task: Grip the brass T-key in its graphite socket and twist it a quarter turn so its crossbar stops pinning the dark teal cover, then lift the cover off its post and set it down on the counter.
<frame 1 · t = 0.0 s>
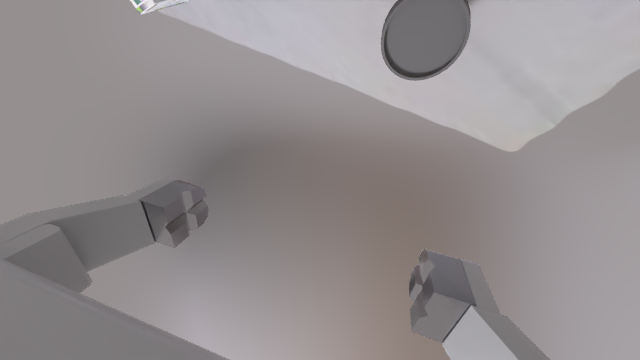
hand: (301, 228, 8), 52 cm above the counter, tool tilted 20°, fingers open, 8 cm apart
reusable coffee cup: (423, 15, 43), on the counter
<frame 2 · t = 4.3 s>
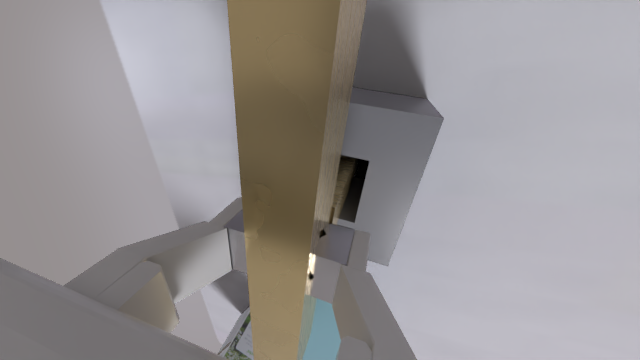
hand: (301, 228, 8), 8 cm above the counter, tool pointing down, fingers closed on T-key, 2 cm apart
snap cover: (312, 298, 17), point 4 cm above the counter, touching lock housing
T-key: (345, 151, 15), resting in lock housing, touching gripper
syrup box: (267, 317, 28), on the counter
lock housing: (334, 210, 18), on the counter
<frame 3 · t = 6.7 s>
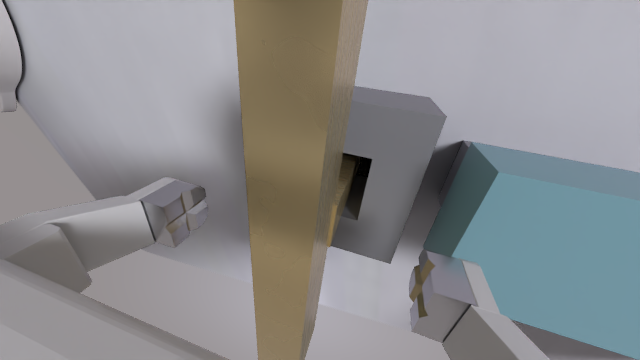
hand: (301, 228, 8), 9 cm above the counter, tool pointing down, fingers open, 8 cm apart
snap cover: (565, 229, 10), point 4 cm above the counter, touching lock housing
T-key: (347, 150, 15), resting in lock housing
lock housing: (424, 165, 14), on the counter
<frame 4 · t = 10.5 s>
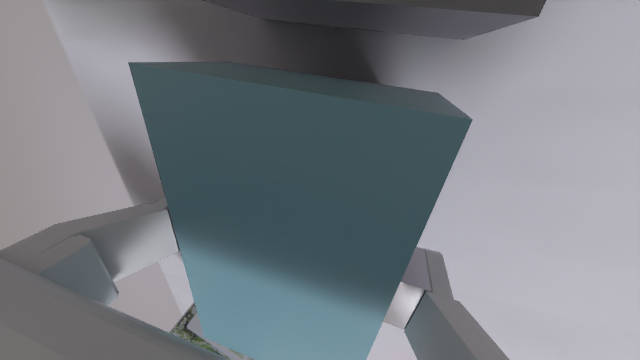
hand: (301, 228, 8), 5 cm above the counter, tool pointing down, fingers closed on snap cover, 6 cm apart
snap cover: (308, 217, 9), point 4 cm above the counter, touching gripper, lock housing
syrup box: (247, 290, 20), on the counter
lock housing: (349, 57, 9), on the counter
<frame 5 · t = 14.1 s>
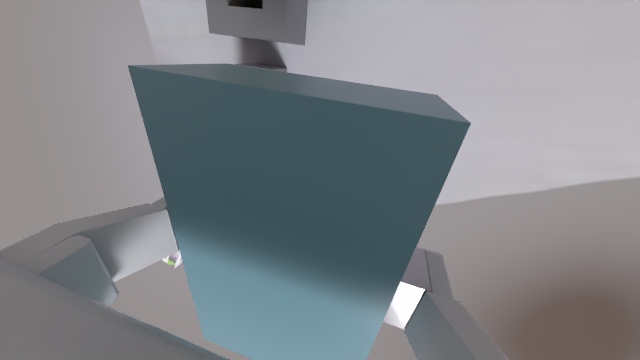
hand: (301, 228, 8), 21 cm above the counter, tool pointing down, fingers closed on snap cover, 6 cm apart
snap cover: (307, 218, 9), point 20 cm above the counter, touching gripper
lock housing: (271, 51, 26), on the counter
when the fingers open (3 cm above the counter, at t = 18.0 s): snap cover drops 2 cm, on the counter.
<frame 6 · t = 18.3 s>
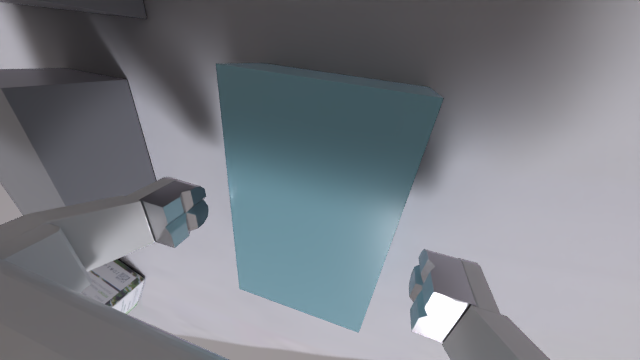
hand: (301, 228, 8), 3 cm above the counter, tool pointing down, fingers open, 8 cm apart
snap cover: (325, 189, 11), on the counter
syrup box: (120, 270, 21), on the counter
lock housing: (82, 37, 10), on the counter
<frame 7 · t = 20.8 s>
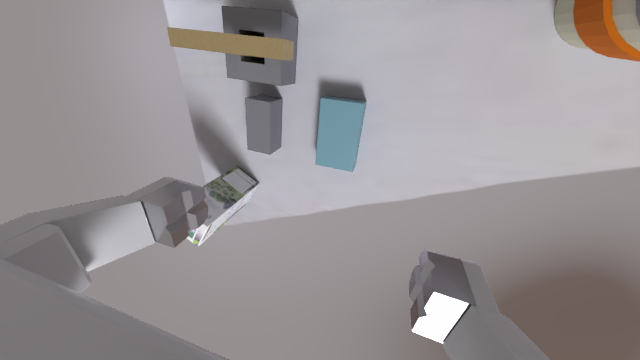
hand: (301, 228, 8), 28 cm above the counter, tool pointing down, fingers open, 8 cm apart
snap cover: (341, 131, 35), on the counter
T-key: (270, 49, 33), resting in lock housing
syrup box: (244, 183, 46), on the counter
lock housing: (270, 86, 35), on the counter
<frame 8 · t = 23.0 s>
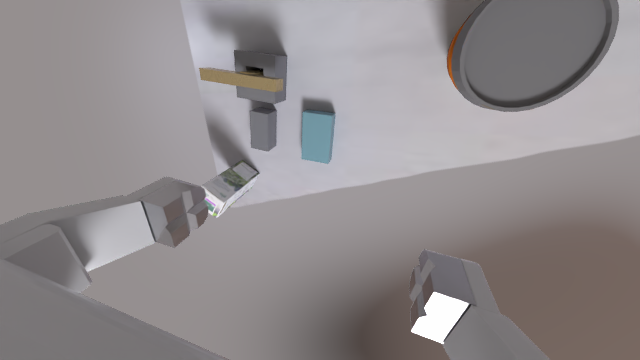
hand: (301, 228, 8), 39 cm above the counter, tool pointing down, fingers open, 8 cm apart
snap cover: (320, 134, 49), on the counter
T-key: (267, 75, 46), resting in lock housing
syrup box: (247, 173, 59), on the counter
reusable coffee cup: (480, 53, 35), on the counter
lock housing: (268, 101, 48), on the counter
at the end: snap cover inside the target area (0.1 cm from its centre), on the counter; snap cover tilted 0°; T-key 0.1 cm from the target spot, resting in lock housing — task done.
